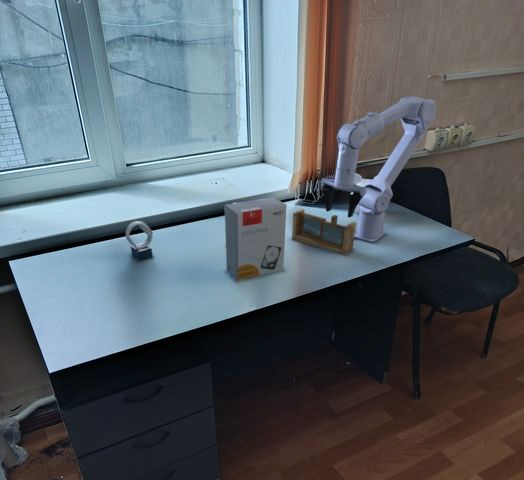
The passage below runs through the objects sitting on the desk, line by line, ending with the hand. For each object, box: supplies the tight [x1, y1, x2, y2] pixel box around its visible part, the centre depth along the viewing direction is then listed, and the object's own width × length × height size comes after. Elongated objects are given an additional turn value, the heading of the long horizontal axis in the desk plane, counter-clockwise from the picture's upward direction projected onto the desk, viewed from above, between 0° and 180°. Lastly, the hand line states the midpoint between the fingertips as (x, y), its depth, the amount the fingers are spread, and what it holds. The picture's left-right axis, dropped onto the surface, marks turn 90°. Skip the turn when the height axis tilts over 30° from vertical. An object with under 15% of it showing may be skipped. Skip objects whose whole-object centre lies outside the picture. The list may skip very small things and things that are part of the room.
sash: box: [320, 214, 346, 247], centre depth 151 cm, size 2×9×9 cm, turn 54°
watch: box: [125, 220, 154, 262], centre depth 146 cm, size 6×8×11 cm
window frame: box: [291, 208, 357, 256], centre depth 154 cm, size 5×20×9 cm, turn 54°
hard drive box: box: [224, 196, 287, 282], centre depth 136 cm, size 16×8×20 cm, turn 117°
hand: (339, 213), depth 151 cm, fingers open, 7 cm apart
